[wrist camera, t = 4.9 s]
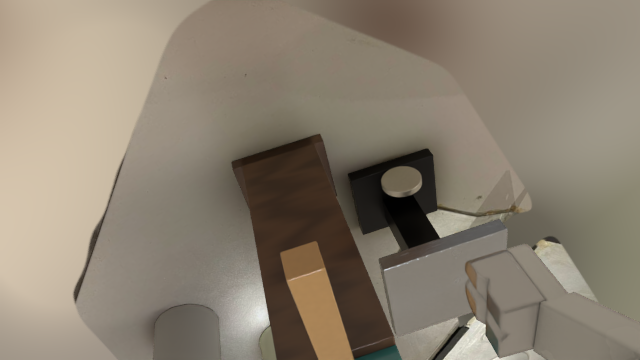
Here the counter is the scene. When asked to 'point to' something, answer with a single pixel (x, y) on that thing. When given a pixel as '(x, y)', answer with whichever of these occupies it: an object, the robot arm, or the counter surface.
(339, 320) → the teal handled box
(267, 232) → the plinth
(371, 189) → the scale
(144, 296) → the counter surface
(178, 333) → the cup
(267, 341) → the can
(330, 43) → the counter surface
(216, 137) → the counter surface
